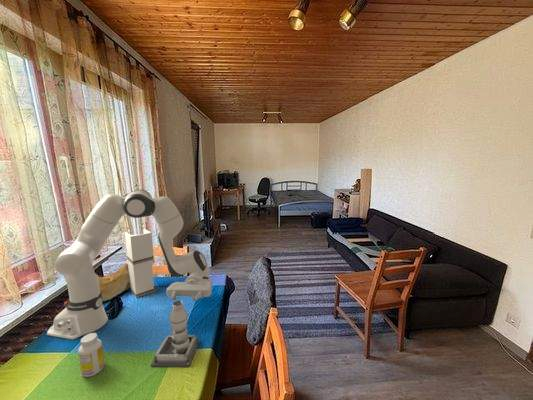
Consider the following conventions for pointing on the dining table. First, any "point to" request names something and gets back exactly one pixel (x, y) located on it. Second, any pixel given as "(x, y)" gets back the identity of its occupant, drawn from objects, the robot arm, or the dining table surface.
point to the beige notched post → (140, 263)
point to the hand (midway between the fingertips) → (183, 299)
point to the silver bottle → (179, 328)
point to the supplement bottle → (91, 355)
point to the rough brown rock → (114, 283)
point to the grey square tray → (170, 359)
